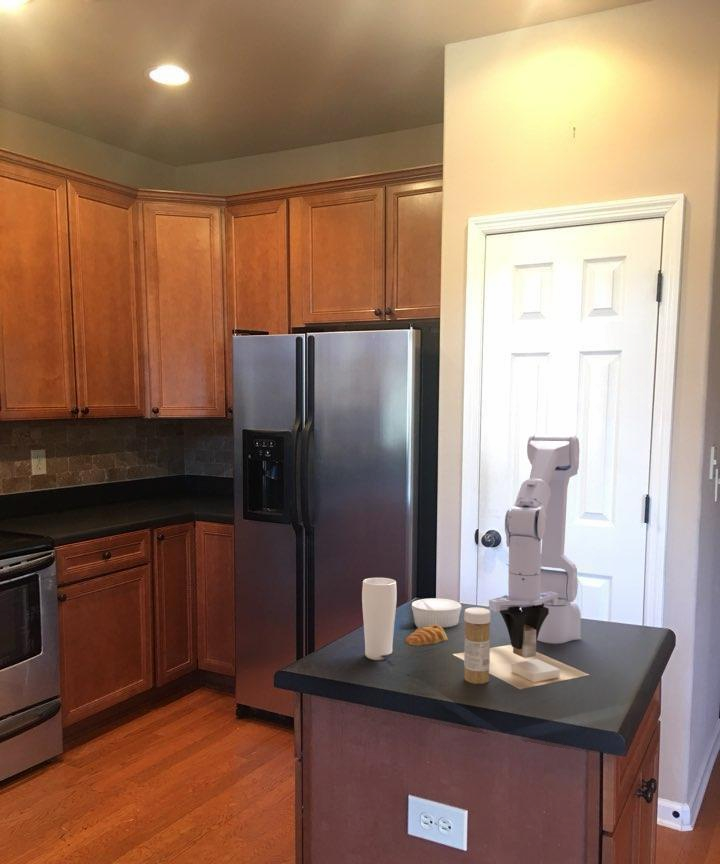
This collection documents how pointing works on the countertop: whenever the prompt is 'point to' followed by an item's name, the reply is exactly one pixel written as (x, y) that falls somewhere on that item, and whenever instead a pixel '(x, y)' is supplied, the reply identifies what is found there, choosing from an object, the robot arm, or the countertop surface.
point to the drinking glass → (378, 616)
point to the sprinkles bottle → (477, 645)
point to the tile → (535, 670)
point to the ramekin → (436, 612)
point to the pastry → (426, 636)
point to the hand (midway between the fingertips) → (523, 646)
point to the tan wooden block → (527, 643)
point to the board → (505, 657)
